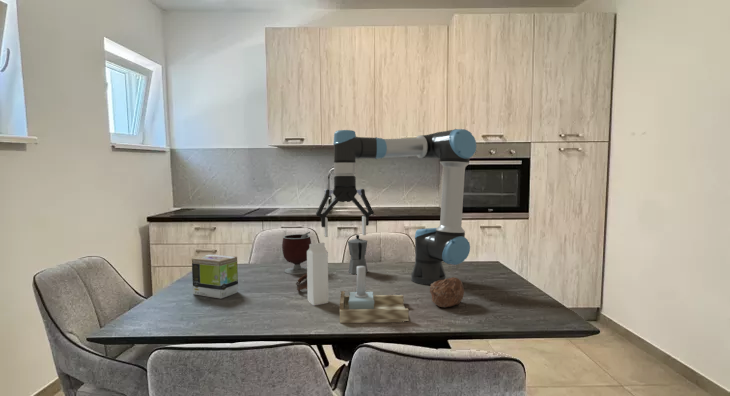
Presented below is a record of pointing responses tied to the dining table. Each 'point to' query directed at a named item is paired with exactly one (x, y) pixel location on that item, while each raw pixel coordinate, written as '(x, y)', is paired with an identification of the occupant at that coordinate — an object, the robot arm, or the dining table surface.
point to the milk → (317, 274)
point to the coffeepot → (357, 254)
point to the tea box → (215, 275)
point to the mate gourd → (296, 251)
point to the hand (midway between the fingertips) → (345, 235)
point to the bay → (375, 310)
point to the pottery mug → (303, 284)
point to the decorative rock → (447, 292)
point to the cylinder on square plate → (361, 292)
